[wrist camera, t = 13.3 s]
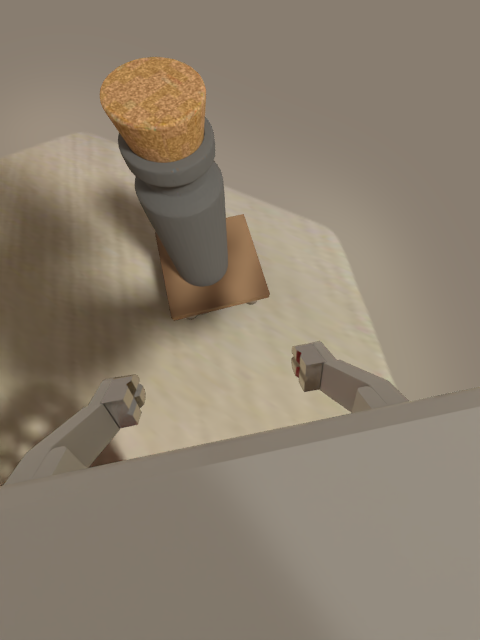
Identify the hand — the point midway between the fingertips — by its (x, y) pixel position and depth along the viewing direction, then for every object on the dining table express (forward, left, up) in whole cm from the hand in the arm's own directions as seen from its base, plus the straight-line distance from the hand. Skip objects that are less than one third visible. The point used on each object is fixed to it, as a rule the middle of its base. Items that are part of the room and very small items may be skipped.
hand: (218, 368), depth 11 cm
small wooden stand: (+1, +12, -14) cm, 19 cm away
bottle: (0, +12, -10) cm, 16 cm away
